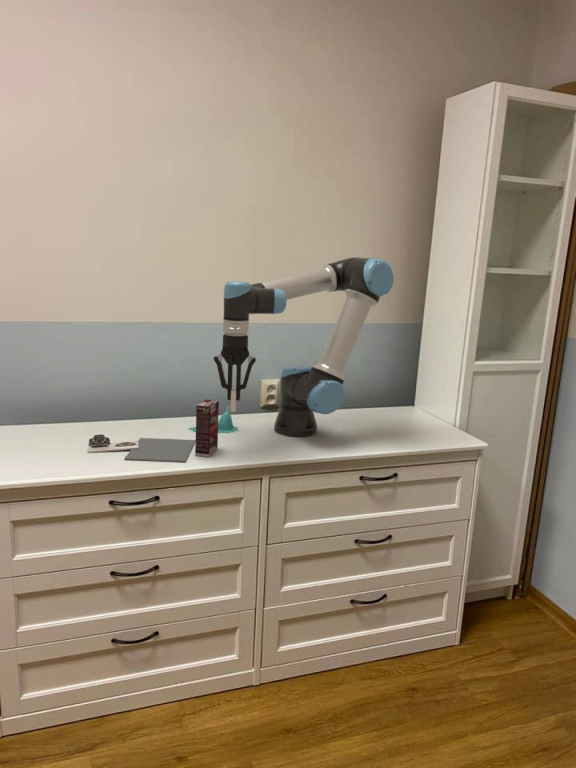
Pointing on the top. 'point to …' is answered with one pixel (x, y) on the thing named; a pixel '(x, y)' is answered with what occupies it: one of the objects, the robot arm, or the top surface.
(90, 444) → the car cutout
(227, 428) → the diorama
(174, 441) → the mat
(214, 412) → the supplement box
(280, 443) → the top surface
